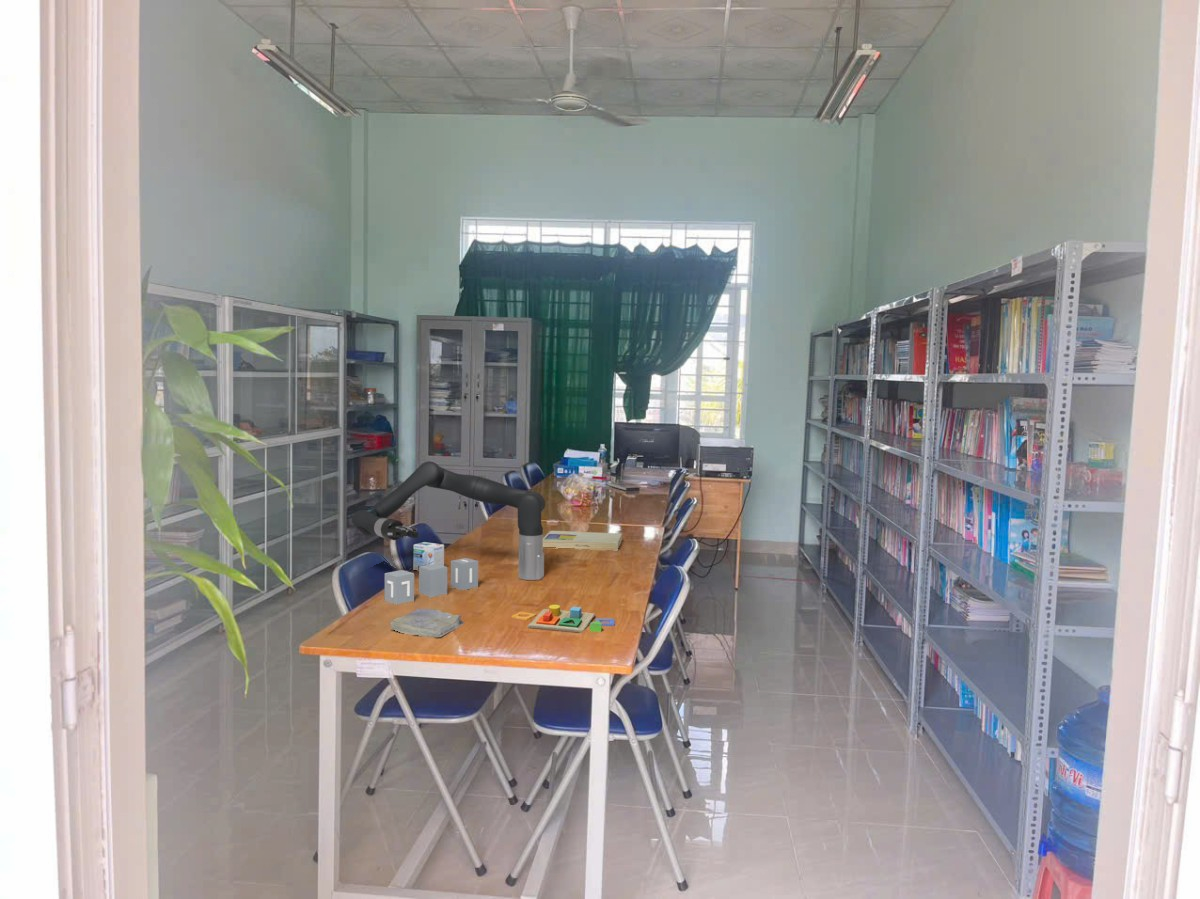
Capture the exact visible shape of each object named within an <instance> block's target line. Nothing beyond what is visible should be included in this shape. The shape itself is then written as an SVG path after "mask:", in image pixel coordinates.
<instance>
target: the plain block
mask: <svg viewBox="0 0 1200 899" xmlns="http://www.w3.org/2000/svg"><path fill="white" fill-rule="evenodd" d="M419 593H421V594H424V595H427V596H429V597H434V596H439V595H444V594H447V595H448V566H445V565H444V566H442V565H438V564H431V565H426V566H421V567H419V571H418V594H419ZM444 596H445V595H444ZM439 597H440V596H439Z"/></svg>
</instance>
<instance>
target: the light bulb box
mask: <svg viewBox="0 0 1200 899" xmlns="http://www.w3.org/2000/svg"><path fill="white" fill-rule="evenodd" d="M412 557H413V558H412V559H413V560H412V561H413V564H412V565H413V566H412V569H413V570H416V569H417V570H419V567H421V566H426V565H431V564H438V565H442V566H445V565H444V564H445V544H441V543H433V542H428V541H427V542H426V541H423V542H419V543H415V544H413V556H412Z"/></svg>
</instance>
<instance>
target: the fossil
mask: <svg viewBox="0 0 1200 899" xmlns="http://www.w3.org/2000/svg"><path fill="white" fill-rule="evenodd" d="M464 624H465V621H462V617H461V615H460V614H456V615H455V614H452V613H450V612H443V610H440V609H434V608H433V609H432V608H420V607H419V608H417V609H415V610H413V611H411V612H409V613H407V614H405V615H402V616H399V617H395V618H393V619H392V620H391V622H390V629H391V630H392V631H394V630H395V632H396V631H398V632H397V633H399V632H401V633H405V634H412V635H419V636H418V637H420V636H425V637H424V638H429V637H435V638H434V639H438V638H441V637H444V636H445V635H447V634H449V633H451V632H452V631H454V630H457V629H458V628H460V627H461V626H463V625H464ZM401 633H400V634H401ZM405 634H404V635H405Z"/></svg>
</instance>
